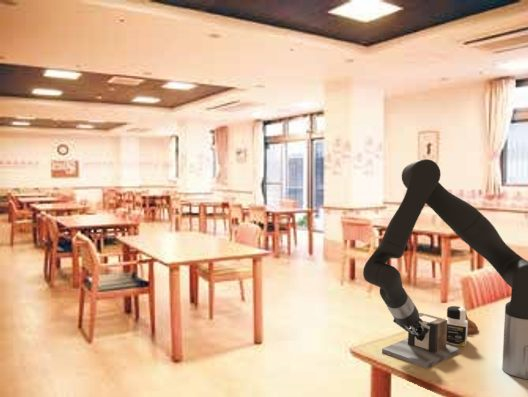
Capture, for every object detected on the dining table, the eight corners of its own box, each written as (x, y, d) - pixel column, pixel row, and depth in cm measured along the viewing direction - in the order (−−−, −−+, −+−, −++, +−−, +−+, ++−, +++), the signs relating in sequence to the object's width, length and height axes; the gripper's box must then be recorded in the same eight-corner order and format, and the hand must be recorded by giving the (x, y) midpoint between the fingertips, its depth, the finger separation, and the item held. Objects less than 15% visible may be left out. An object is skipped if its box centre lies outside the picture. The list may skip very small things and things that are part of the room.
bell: (449, 321, 186) (450, 303, 185) (481, 329, 178) (482, 310, 178) (439, 329, 177) (439, 310, 176) (472, 337, 169) (473, 317, 169)
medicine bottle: (442, 342, 163) (444, 308, 162) (445, 336, 169) (446, 303, 168) (465, 346, 159) (466, 311, 159) (467, 340, 166) (468, 306, 165)
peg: (428, 349, 152) (429, 322, 152) (414, 345, 156) (415, 318, 155) (436, 346, 156) (437, 319, 155) (422, 341, 159) (423, 315, 159)
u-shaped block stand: (426, 368, 142) (428, 334, 141) (382, 352, 154) (383, 320, 153) (459, 352, 155) (460, 320, 154) (415, 338, 167) (416, 309, 166)
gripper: (426, 302, 141) (444, 334, 150) (388, 293, 151) (408, 323, 160) (416, 323, 138) (435, 354, 147) (378, 312, 148) (398, 342, 157)
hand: (421, 338), depth 154 cm, fingers closed
